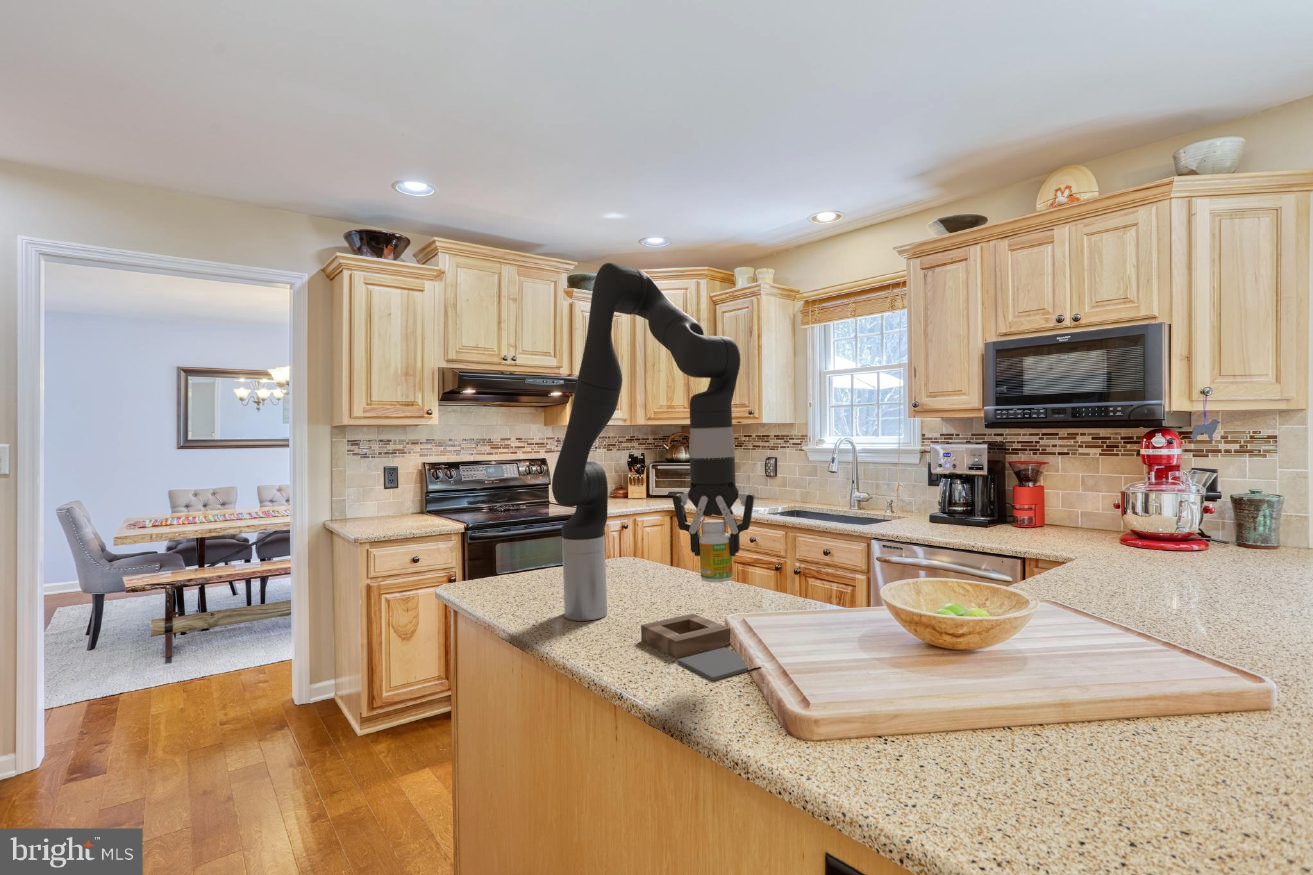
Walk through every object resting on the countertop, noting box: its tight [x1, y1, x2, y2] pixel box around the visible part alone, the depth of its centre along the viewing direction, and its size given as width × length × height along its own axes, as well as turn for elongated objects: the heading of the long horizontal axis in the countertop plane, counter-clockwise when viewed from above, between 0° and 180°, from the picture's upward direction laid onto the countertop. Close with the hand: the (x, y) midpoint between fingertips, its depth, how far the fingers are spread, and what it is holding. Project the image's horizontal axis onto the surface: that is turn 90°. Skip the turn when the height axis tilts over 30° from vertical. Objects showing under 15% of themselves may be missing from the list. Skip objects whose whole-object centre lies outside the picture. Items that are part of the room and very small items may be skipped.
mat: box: [677, 646, 748, 682], centre depth 111 cm, size 10×10×1 cm
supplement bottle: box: [699, 519, 734, 583], centre depth 111 cm, size 5×5×10 cm
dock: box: [640, 613, 731, 659], centre depth 123 cm, size 12×12×3 cm
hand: (715, 555), depth 111 cm, fingers closed on supplement bottle, 5 cm apart
